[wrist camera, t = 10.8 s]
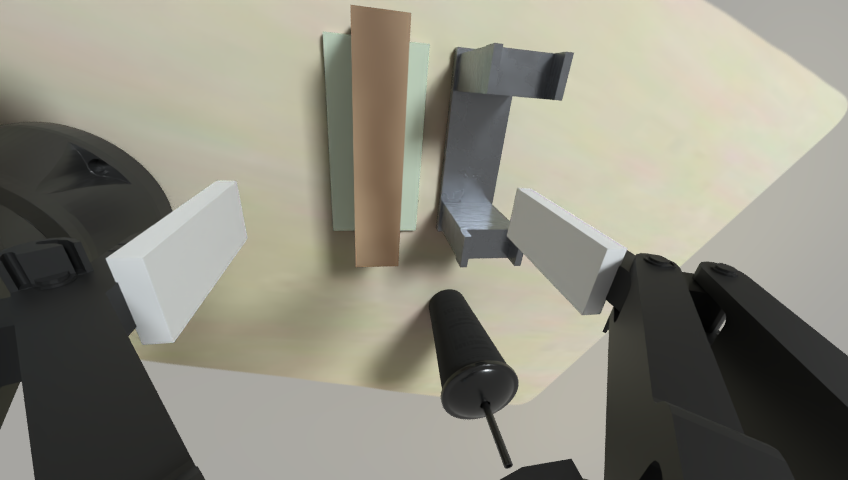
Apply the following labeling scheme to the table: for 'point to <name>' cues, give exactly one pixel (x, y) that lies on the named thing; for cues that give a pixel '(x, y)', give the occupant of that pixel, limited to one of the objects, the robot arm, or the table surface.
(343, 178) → the mat
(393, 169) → the rail
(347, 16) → the table surface
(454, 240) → the rack
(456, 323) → the drinking cup
